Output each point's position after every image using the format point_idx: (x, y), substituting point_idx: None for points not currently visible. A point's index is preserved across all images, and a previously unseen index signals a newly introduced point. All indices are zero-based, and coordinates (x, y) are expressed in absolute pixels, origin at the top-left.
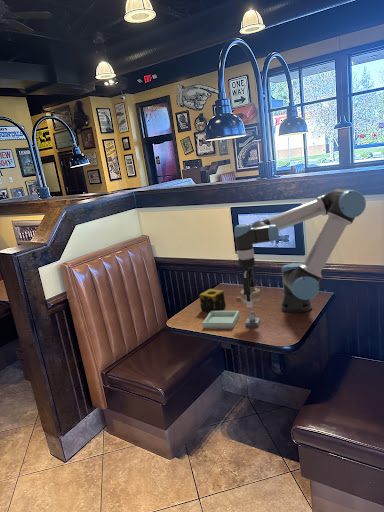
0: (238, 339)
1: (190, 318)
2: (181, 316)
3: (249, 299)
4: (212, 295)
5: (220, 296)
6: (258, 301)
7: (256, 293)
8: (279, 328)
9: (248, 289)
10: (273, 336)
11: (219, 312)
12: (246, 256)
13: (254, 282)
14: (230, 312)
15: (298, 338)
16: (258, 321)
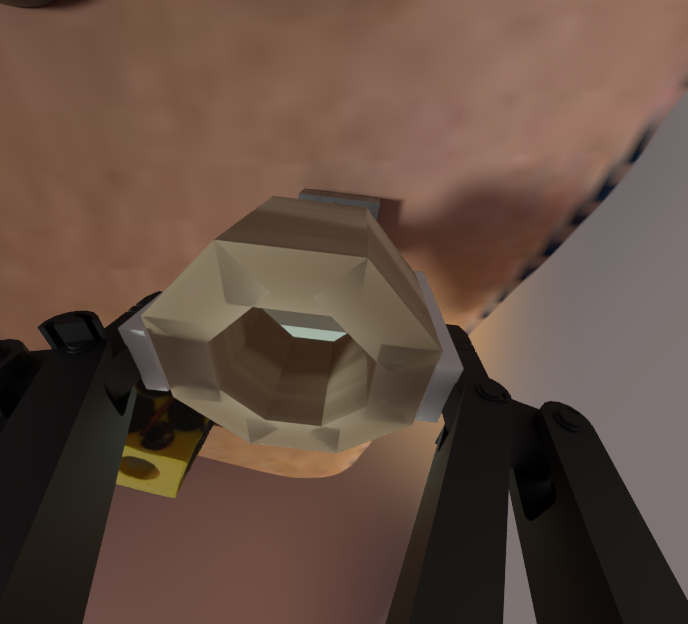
0: (507, 291)
1: None
2: (263, 462)
3: (469, 345)
4: (172, 466)
5: (134, 423)
6: (378, 226)
7: (396, 289)
8: (429, 22)
9: (629, 512)
10: (552, 77)
11: None
12: None
13: (2, 367)
14: None
15: None
16: (355, 200)
